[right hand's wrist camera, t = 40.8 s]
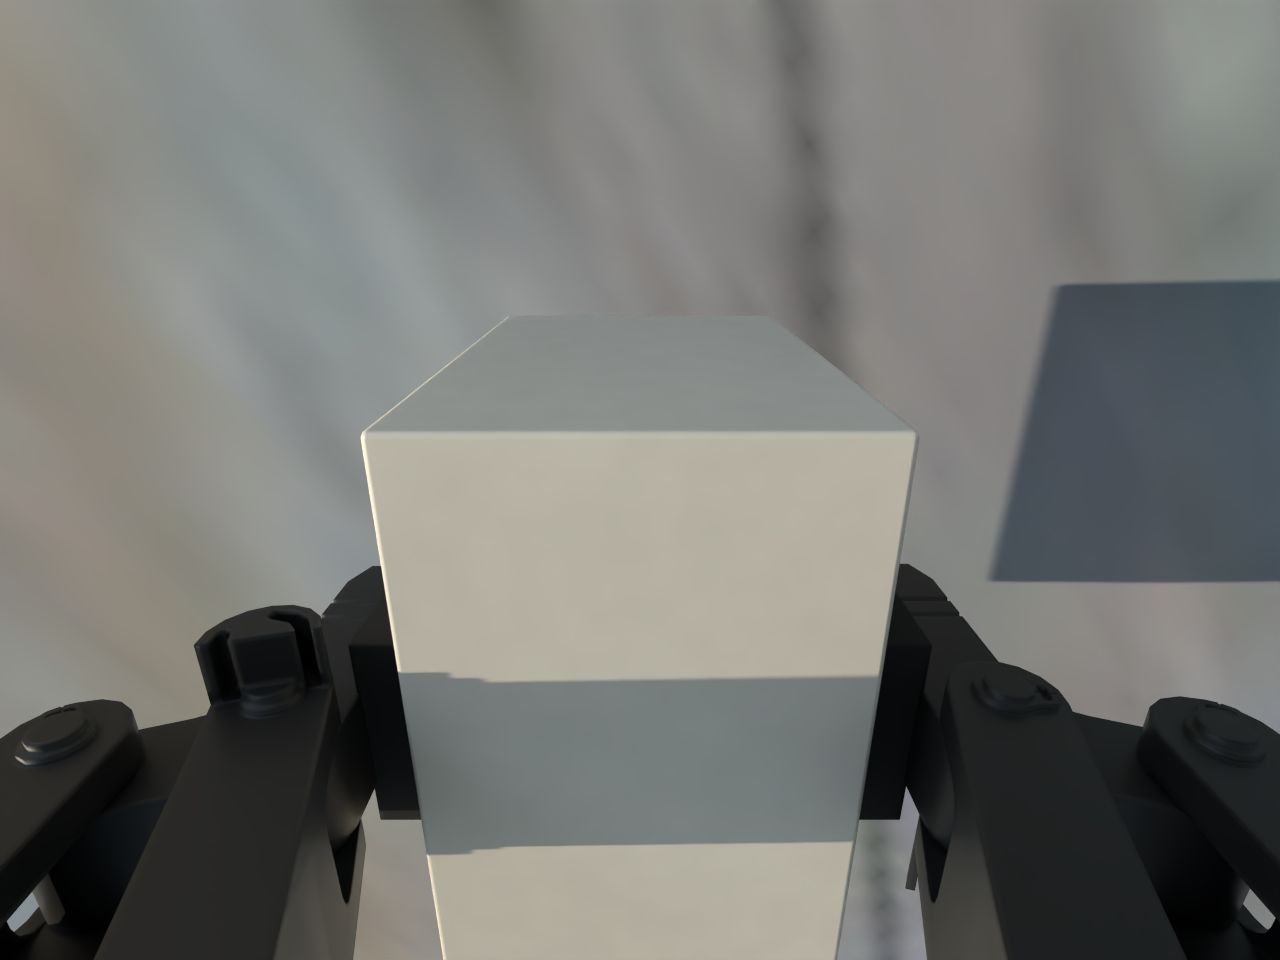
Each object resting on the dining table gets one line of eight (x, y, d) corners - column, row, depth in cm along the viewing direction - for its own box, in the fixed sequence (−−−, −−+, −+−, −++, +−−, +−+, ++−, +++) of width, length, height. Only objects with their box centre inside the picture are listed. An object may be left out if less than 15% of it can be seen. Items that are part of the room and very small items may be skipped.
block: (532, 664, 17) (448, 1011, 9) (507, 315, 14) (356, 432, 6) (748, 664, 17) (831, 1011, 9) (772, 315, 14) (923, 431, 6)
